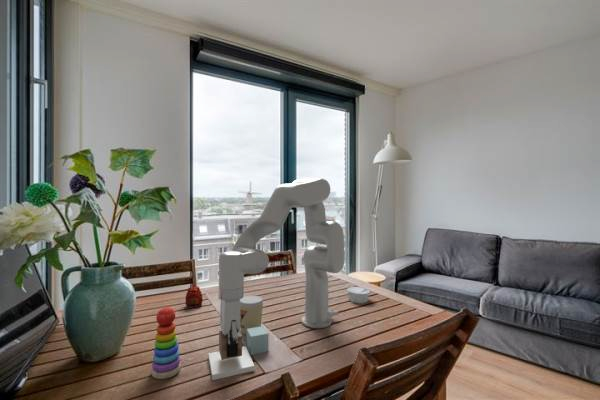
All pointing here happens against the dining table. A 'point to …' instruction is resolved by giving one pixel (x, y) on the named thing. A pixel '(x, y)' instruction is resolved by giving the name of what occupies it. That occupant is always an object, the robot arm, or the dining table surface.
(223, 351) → the walnut block
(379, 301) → the dining table surface
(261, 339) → the teal block
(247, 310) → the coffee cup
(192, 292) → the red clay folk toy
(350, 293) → the ramekin
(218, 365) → the base board
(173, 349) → the stacking toy
